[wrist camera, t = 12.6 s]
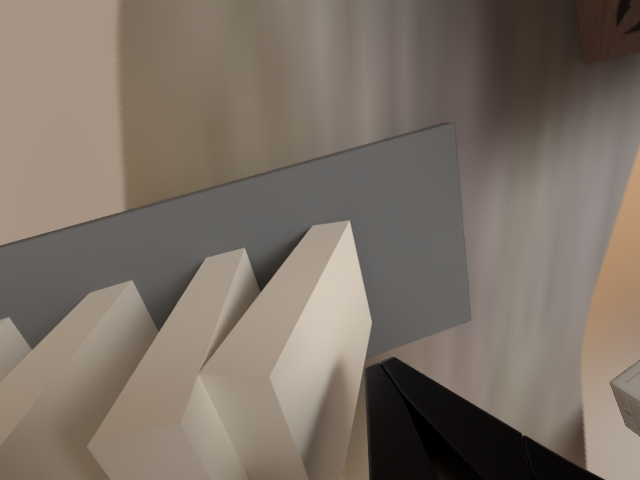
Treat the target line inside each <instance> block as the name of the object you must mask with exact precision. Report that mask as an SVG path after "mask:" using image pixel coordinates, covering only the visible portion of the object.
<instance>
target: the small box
mask: <svg viewBox="0 0 640 480" xmlns="http://www.w3.org/2000/svg"><path fill="white" fill-rule="evenodd" d="M610 385H611V387H612V390H613V393H614V396H615V399H616V401H617V404H618V406H619V409H620V412H621V414H622V417H623V420H624V423H625V425H626V426H627V427H628V428H629V429H630V430H632V431H633V432H634V433H636V434H637V435H639V436H640V360H639V361H638V362H637V363H635V364H634V365H632V366H631V367H629V369H627V370H625V371H624V372H623V373H621V374H620V375H619V376H617V377H616V378H615V379H613V380H612V381H611V382H610Z"/></svg>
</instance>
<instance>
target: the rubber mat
mask: <svg viewBox="0 0 640 480" xmlns="http://www.w3.org/2000/svg"><path fill="white" fill-rule="evenodd" d="M349 220H350V224H351V229H352V233H353V238H354V242H355V247H356V252H357V256H358V261H359V265H360V270H361V274H362V279H363V283H364V288H365V293H366V297H367V302H368V306H369V311H370V315H371V320H372V325H371V330H370V336H369V341H368V346H367V351H366V357H365V358H368V357H371V356H373V355H376V354H379V353H382V352H384V351H387V350H390V349H393V348H396V347H398V346H401V345H404V344H407V343H409V342H412V341H415V340H418V339H421V338H423V337H426V336H429V335H432V334H434V333H437V332H440V331H443V330H445V329H448V328H451V327H454V326H457V325H459V324H462V323H465V322H468V321H470V320H471V309H470V297H469V285H468V274H467V262H466V250H465V238H464V226H463V215H462V203H461V191H460V179H459V168H458V156H457V144H456V132H455V123H442V124H439V125H435V126H432V127H428V128H424V129H421V130H417V131H413V132H410V133H406V134H403V135H399V136H395V137H392V138H388V139H384V140H381V141H377V142H374V143H370V144H366V145H363V146H359V147H356V148H352V149H348V150H345V151H341V152H337V153H334V154H330V155H327V156H323V157H319V158H316V159H312V160H308V161H305V162H301V163H298V164H294V165H290V166H287V167H283V168H279V169H276V170H272V171H269V172H265V173H261V174H258V175H254V176H250V177H247V178H243V179H240V180H236V181H232V182H229V183H225V184H222V185H218V186H214V187H211V188H207V189H203V190H200V191H196V192H193V193H189V194H185V195H182V196H178V197H174V198H171V199H167V200H164V201H160V202H156V203H153V204H149V205H145V206H142V207H138V208H135V209H131V210H127V211H124V212H120V213H116V214H113V215H109V216H106V217H102V218H99V219H95V220H91V221H88V222H84V223H80V224H77V225H73V226H69V227H66V228H63V229H59V230H55V231H52V232H48V233H44V234H40V235H37V236H34V237H30V238H26V239H22V240H19V241H15V242H11V243H8V244H5V245H1V246H0V320H1V319H5V318H8V317H9V318H10V319H11V321H12V322H13V324H14V325H15V326H16V328H17V329H18V331H19V332H20V334H21V335H22V336H23V338H24V339H25V341H26V342H27V344H28V345H29V346H30V348H31V349H32V350H33V349H34V348H35V347H36V346H37V345H38V344H39V343H40V342H41V341H42V340H43V339H44V338H45V337H46V336H47V335H48V334H49V333H50V332H51V331H52V330H53V329H54V328H55V327H56V326H57V325H58V324H59V323H60V322H61V321H62V320H63V319H64V318H65V317H66V316H67V315H68V314H69V313H70V312H71V311H72V310H73V309H74V308H75V307H76V306H77V305H78V304H79V303H80V302H81V301H82V300H83V299H84V298H85V297H86V296H87V295H88V294H89V293H91V292H94V291H97V290H101V289H104V288H107V287H111V286H114V285H117V284H120V283H124V282H127V281H130V280H132V281H133V283H134V285H135V287H136V289H137V291H138V292H139V294H140V296H141V298H142V300H143V302H144V304H145V306H146V308H147V310H148V312H149V314H150V316H151V318H152V320H153V322H154V324H155V326H156V328H157V330H158V332H160V330H161V328H162V327H163V325H164V324H165V322H166V320H167V319H168V317H169V316H170V314H171V312H172V311H173V309H174V308H175V306H176V305H177V303H178V301H179V300H180V298H181V297H182V295H183V293H184V292H185V290H186V289H187V287H188V285H189V284H190V282H191V281H192V279H193V278H194V276H195V274H196V273H197V271H198V270H199V268H200V266H201V265H202V263H203V262H204V260H205V258H207V257H211V256H214V255H218V254H222V253H226V252H230V251H234V250H238V249H241V248H245V250H246V253H247V255H248V258H249V261H250V264H251V267H252V270H253V272H254V275H255V278H256V281H257V284H258V286H259V289H260V292H262V290H263V289H264V288H265V287H266V285H267V284H268V283H269V281H270V280H271V279H272V277H273V276H274V275H275V274H276V272H277V271H278V270H279V268H280V267H281V266H282V265H283V263H284V262H285V261H286V259H287V258H288V257H289V255H290V254H291V253H292V252H293V250H294V249H295V248H296V246H297V245H298V244H299V242H300V241H301V240H302V239H303V237H304V236H305V235H306V233H307V232H308V231H309V229H310V228H311V227H312V226H313V225H320V224H327V223H334V222H342V221H349Z"/></svg>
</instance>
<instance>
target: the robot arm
mask: <svg viewBox="0 0 640 480" xmlns="http://www.w3.org/2000/svg"><path fill="white" fill-rule="evenodd" d="M365 393H366V415H367V437H368V459H369V480H605V479H603V478H601V477H599V476H597V475H595V474H593V473H591V472H589V471H587V470H585V469H584V468H582V467H580V466H578V465H576V464H574V463H572V462H570V461H569V460H567V459H565V458H563V457H562V456H560V455H558V454H556V453H555V452H553V451H551V450H549V449H548V448H546V447H544V446H543V445H541V444H539V443H538V442H536V441H534V440H533V439H531V438H529V437H528V436H526V435H524V436H522V433H521V432H519V431H517V430H516V429H514V428H512V427H511V426H509V425H507V424H506V423H504V422H502V421H501V420H499V419H497V418H496V417H494V416H492V415H491V414H489V413H487V412H485V411H484V410H482V409H480V408H479V407H477V406H475V405H474V404H472V403H470V402H469V401H467V400H465V399H464V398H462V397H460V396H459V395H457V394H455V393H454V392H452V391H450V390H449V389H447V388H445V387H444V386H442V385H440V384H439V383H437V382H435V381H434V380H432V379H430V378H429V377H427V376H425V375H424V374H422V373H420V372H419V371H417V370H415V369H414V368H412V367H410V366H409V365H407V364H405V363H404V362H402V361H400V360H399V359H397V358H395V357H391V358H388V359H385V360H383V361H381V362H380V364H379V363H374V364H372V365H369V366H366V367H365Z"/></svg>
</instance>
